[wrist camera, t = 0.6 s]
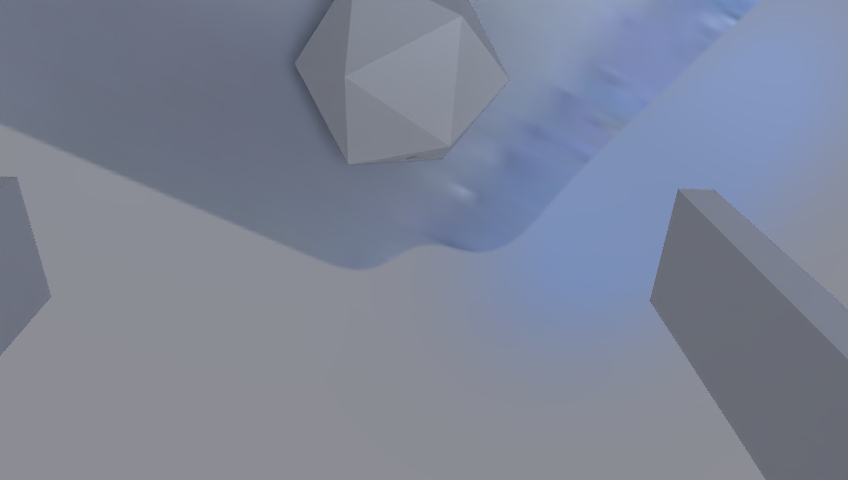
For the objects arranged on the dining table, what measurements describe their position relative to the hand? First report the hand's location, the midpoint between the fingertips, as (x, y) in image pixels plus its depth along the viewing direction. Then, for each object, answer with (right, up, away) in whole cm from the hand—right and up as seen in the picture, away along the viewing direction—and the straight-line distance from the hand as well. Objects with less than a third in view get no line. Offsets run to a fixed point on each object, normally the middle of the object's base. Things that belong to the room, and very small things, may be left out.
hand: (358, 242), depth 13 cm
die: (0, +9, +20) cm, 22 cm away
